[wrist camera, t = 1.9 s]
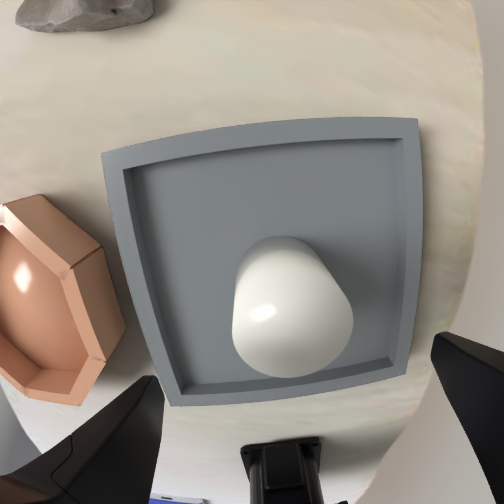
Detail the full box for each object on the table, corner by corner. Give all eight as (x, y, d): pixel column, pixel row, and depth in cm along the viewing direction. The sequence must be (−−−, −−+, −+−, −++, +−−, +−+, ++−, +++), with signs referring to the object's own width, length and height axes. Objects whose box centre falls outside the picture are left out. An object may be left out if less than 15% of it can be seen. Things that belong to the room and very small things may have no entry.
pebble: (323, 310, 16) (350, 367, 11) (242, 320, 16) (241, 383, 11) (320, 230, 15) (354, 266, 10) (230, 241, 15) (222, 283, 10)
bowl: (144, 375, 18) (130, 411, 15) (18, 367, 19) (-1, 390, 15) (89, 179, 14) (53, 186, 11) (-35, 221, 15) (-65, 233, 11)
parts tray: (393, 356, 18) (405, 373, 16) (175, 386, 19) (170, 406, 17) (399, 121, 14) (417, 118, 12) (117, 153, 14) (100, 153, 12)
